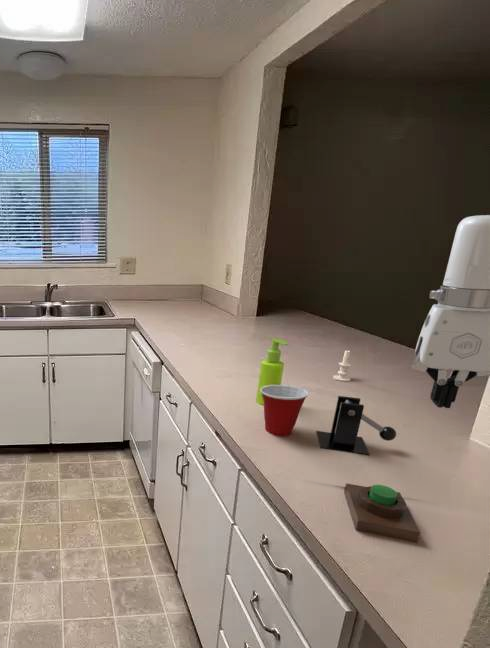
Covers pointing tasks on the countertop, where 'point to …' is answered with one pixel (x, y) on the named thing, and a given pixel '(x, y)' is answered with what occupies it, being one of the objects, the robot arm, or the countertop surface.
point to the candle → (343, 368)
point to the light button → (383, 494)
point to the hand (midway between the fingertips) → (440, 404)
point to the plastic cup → (282, 407)
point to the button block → (380, 515)
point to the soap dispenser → (271, 368)
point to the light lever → (379, 427)
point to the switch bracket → (345, 428)
